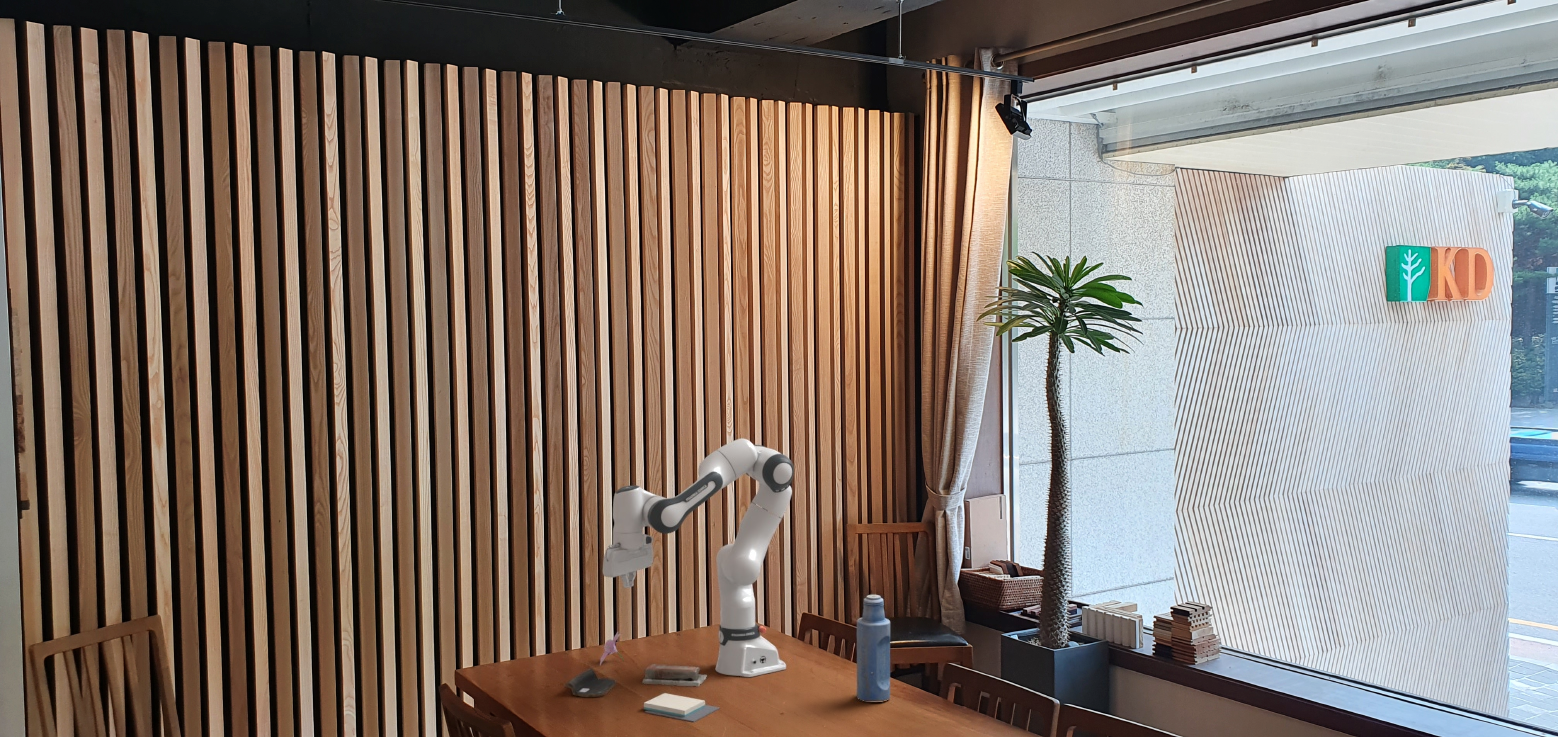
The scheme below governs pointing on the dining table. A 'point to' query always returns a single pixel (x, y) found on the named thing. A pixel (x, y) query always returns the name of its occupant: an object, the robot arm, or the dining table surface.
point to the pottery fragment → (590, 685)
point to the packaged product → (673, 675)
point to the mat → (691, 717)
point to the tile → (674, 705)
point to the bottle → (873, 651)
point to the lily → (610, 647)
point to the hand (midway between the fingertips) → (628, 586)
